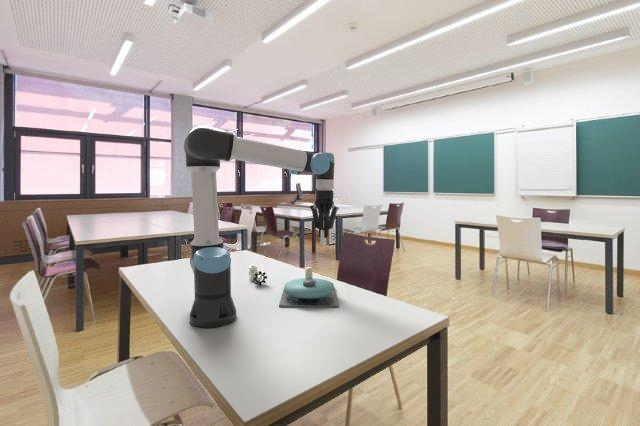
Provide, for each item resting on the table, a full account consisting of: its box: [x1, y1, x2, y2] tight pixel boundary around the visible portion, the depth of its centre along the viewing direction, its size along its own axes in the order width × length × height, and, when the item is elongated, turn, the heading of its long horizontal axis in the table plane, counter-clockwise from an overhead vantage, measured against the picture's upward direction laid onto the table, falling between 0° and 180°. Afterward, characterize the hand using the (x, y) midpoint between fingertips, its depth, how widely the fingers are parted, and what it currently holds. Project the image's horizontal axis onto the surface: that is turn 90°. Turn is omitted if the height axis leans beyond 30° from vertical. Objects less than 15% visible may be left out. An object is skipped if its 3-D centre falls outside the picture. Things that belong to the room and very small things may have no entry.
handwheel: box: [283, 266, 335, 299], centre depth 135 cm, size 20×20×7 cm
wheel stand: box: [278, 286, 339, 308], centre depth 135 cm, size 22×22×3 cm
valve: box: [248, 265, 268, 286], centre depth 155 cm, size 7×7×12 cm
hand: (323, 244), depth 143 cm, fingers closed
